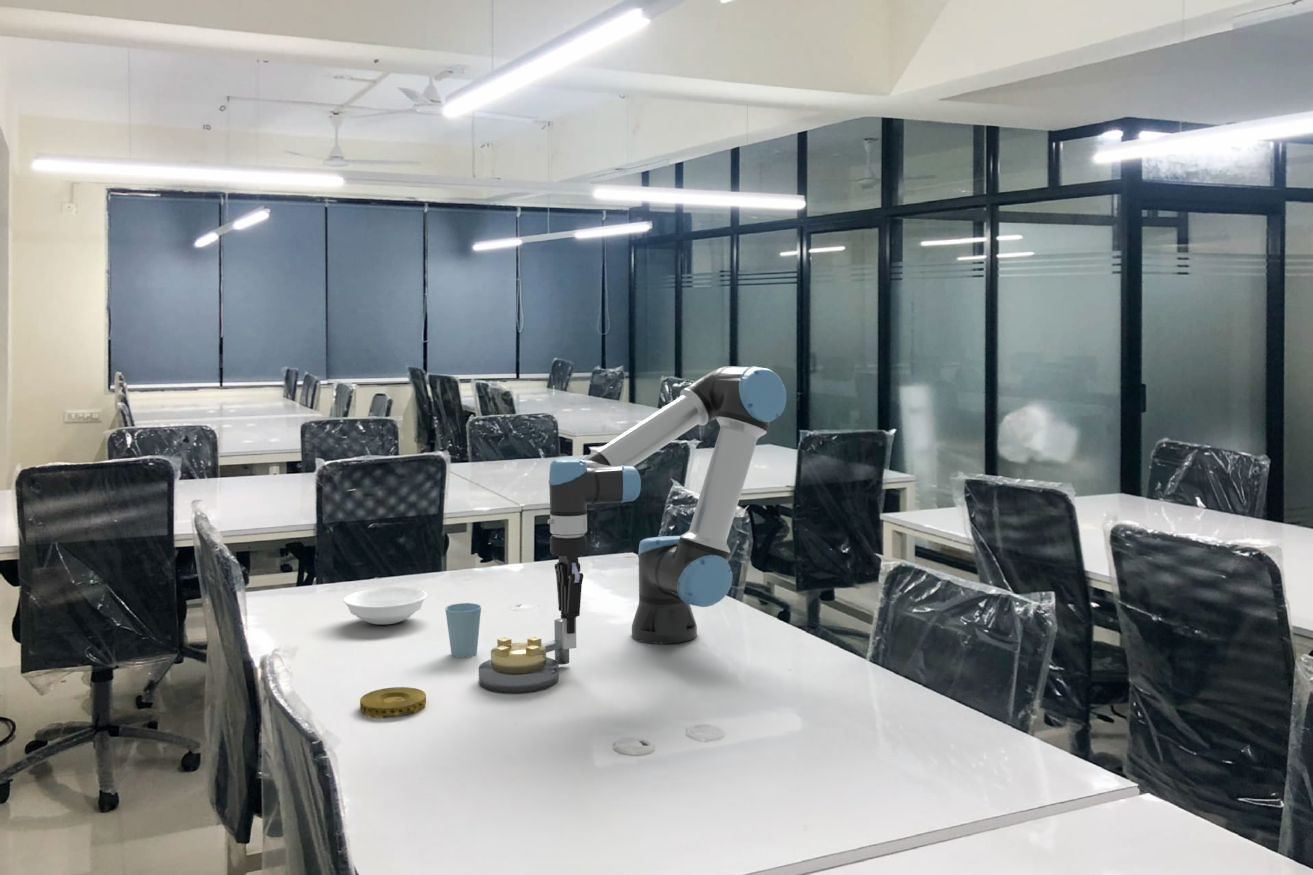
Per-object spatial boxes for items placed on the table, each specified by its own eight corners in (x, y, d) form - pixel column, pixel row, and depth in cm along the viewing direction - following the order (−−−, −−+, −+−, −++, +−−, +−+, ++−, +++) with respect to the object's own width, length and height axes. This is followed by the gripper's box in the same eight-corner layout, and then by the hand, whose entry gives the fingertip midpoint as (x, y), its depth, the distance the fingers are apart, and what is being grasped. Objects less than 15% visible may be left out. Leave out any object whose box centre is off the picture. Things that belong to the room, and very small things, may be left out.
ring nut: (516, 688, 209) (515, 643, 209) (480, 676, 217) (479, 633, 216) (585, 665, 224) (585, 623, 223) (549, 655, 231) (548, 614, 230)
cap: (551, 665, 227) (551, 650, 227) (565, 689, 212) (565, 672, 211) (475, 672, 223) (474, 656, 223) (483, 697, 208) (482, 679, 207)
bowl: (390, 608, 277) (390, 583, 276) (444, 619, 265) (444, 594, 264) (326, 624, 261) (325, 599, 260) (380, 637, 249) (380, 610, 248)
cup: (486, 656, 234) (485, 609, 233) (451, 660, 231) (449, 613, 230) (477, 647, 241) (476, 601, 240) (443, 651, 238) (441, 605, 237)
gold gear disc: (356, 703, 206) (356, 692, 205) (419, 694, 210) (419, 683, 210) (365, 723, 195) (365, 711, 194) (431, 714, 199) (431, 702, 199)
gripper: (542, 531, 225) (543, 642, 227) (558, 540, 214) (560, 657, 215) (577, 529, 228) (578, 638, 230) (595, 538, 216) (595, 653, 218)
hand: (569, 647), depth 222 cm, fingers closed
